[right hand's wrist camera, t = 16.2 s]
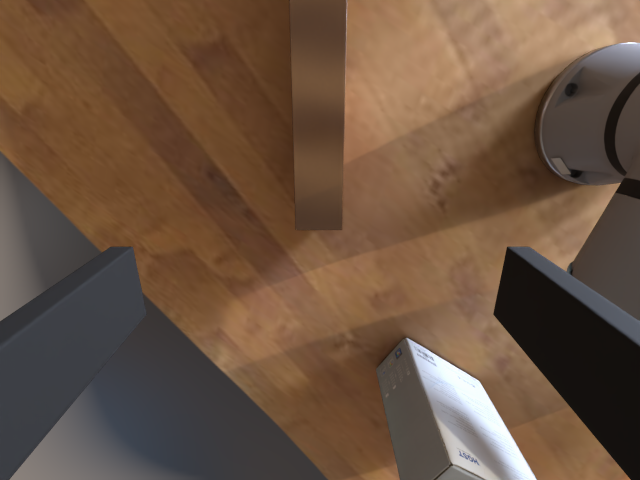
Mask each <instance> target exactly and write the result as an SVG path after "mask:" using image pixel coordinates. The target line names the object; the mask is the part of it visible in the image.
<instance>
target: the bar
mask: <svg viewBox="0 0 640 480" xmlns="http://www.w3.org/2000/svg"><path fill="white" fill-rule="evenodd" d="M289 12H290V47H291V83H292V118H293V154H294V189H295V225H296V230H342V213H343V168H344V123H345V77H346V32H347V0H289Z"/></svg>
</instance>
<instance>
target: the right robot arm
mask: <svg viewBox="0 0 640 480" xmlns="http://www.w3.org/2000/svg"><path fill="white" fill-rule="evenodd" d="M534 134H535V144H536V148H537V151H538V154H539V156H540V158H541V160H542V162H543V163H544V165H545V166H546V167H547V168H548V169H549V170H550V171H551V172H552V173H554V174H555V175H557V176H558V177H560V178H562V179H565V180H568V181H571V182H574V183H578V184H584V185H606V184H614V183H621V184H620V186H619V187H618V189H617V191H616V193H615V194H614V195H613V197H612V199H611V200H610V202H609V204H608V205H607V207H606V209H605V211H604V212H603V214H602V215H601V217H600V219H599V220H598V222H597V224H596V225H595V227H594V229H593V230H592V232H591V233H590V235H589V237H588V238H587V240H586V242H585V243H584V245H583V247H582V248H581V250H580V251H579V253H578V255H577V256H576V258H575V260H574V261H573V262H572V263H570V264H569V266H568V268H567V272H566V271H564V270H563V269H561V268H560V267H558V266H557V265H555V264H554V263H552V262H551V261H549V260H548V259H546V258H545V257H543V256H542V255H540V254H539V253H537V252H536V251H535V250H533V249H532V248H530V247H507V250H506V255H505V260H504V265H503V270H502V275H501V280H500V284H499V289H498V294H497V299H496V304H495V309H494V314H493V315H494V316H495V317H496V318H497V319H498V321H499V322H500V323H501V324H502V325H503V327H504V328H505V329H506V330H507V331H508V333H509V334H510V335H511V336H512V337H513V339H514V340H515V341H516V342H517V343H518V345H519V346H520V347H521V348H522V349H523V351H524V352H525V353H526V354H527V355H528V357H529V358H530V359H531V360H532V361H533V363H534V364H535V365H536V366H537V367H538V369H539V370H540V371H541V372H542V373H543V375H544V376H545V377H546V378H547V379H548V381H549V382H550V383H551V384H552V385H553V387H554V388H555V389H556V390H557V391H558V393H559V394H560V395H561V396H562V397H563V399H564V400H565V401H566V402H567V404H568V405H569V406H570V407H571V408H572V410H573V411H574V412H575V413H576V414H577V416H578V417H579V418H580V419H581V420H582V422H583V423H584V424H585V425H586V426H587V428H588V429H589V430H590V431H591V432H592V434H593V435H594V436H595V437H596V438H597V440H598V441H599V442H600V443H601V444H602V446H603V447H604V448H605V449H606V450H607V452H608V453H609V454H610V455H611V456H612V458H613V459H614V460H615V461H616V462H617V464H618V465H619V466H620V467H621V468H622V470H623V471H624V472H625V473H626V474H627V476H628V477H629V478H630V479H631V480H640V43H621V44H615V45H611V46H606V47H602V48H599V49H596V50H593V51H591V52H589V53H587V54H585V55H583V56H581V57H580V58H578V59H577V60H575V61H574V62H572V63H571V64H570V65H569V66H568V67H566V68H565V69H564V70H563V71H562V72H561V73H560V74H559V75H558V76H557V78H556V79H555V80H554V81H553V83H552V84H551V85H550V87H549V88H548V90H547V92H546V93H545V95H544V97H543V99H542V101H541V104H540V106H539V109H538V112H537V116H536V121H535V132H534ZM626 195H627V196H626ZM629 196H630V197H629ZM145 316H146V309H145V304H144V299H143V294H142V289H141V284H140V280H139V275H138V270H137V265H136V260H135V255H134V250H133V247H110V248H108V249H107V250H105V251H104V252H103V253H101V254H100V255H98V256H97V257H95V258H94V259H92V260H91V261H89V262H88V263H86V264H85V265H83V266H82V267H80V268H79V269H77V270H76V271H74V272H73V273H71V274H70V275H68V276H67V277H65V278H64V279H62V280H61V281H60V282H58V283H57V284H55V285H54V286H52V287H51V288H49V289H48V290H46V291H45V292H43V293H42V294H40V295H39V296H37V297H36V298H34V299H33V300H31V301H30V302H28V303H27V304H25V305H24V306H22V307H21V308H19V309H18V310H16V311H15V312H14V313H12V314H11V315H9V316H8V317H6V318H5V319H3V320H2V321H0V480H9V479H10V478H11V477H12V476H13V474H14V473H15V472H16V471H17V470H18V468H19V467H20V466H21V465H22V464H23V462H24V461H25V460H26V459H27V458H28V456H29V455H30V454H31V453H32V452H33V450H34V449H35V448H36V447H37V446H38V444H39V443H40V442H41V441H42V440H43V438H44V437H45V436H46V435H47V434H48V432H49V431H50V430H51V429H52V428H53V426H54V425H55V424H56V423H57V422H58V420H59V419H60V418H61V417H62V415H63V414H64V413H65V412H66V411H67V409H68V408H69V407H70V406H71V405H72V403H73V402H74V401H75V400H76V399H77V397H78V396H79V395H80V394H81V393H82V391H83V390H84V389H85V388H86V387H87V385H88V384H89V383H90V382H91V381H92V379H93V378H94V377H95V376H96V375H97V373H98V372H99V371H100V370H101V369H102V367H103V366H104V365H105V364H106V363H107V361H108V360H109V359H110V358H111V357H112V355H113V354H114V353H115V352H116V351H117V349H118V348H119V347H120V346H121V345H122V343H123V342H124V341H125V340H126V339H127V337H128V336H129V335H130V334H131V333H132V331H133V330H134V329H135V328H136V327H137V325H138V324H139V323H140V322H141V321H142V319H143V318H144V317H145Z"/></svg>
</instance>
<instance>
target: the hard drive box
mask: <svg viewBox="0 0 640 480" xmlns="http://www.w3.org/2000/svg"><path fill="white" fill-rule="evenodd" d="M376 372H377V377H378V381H379V386H380V391H381V395H382V400H383V404H384V409H385V413H386V418H387V422H388V427H389V432H390V436H391V441H392V445H393V450H394V454H395V459H396V463H397V468H398V472H399V477H400V480H537V479H536V477H535V476H534V474H533V472H532V470H531V469H530V467H529V465H528V464H527V462H526V460H525V458H524V457H523V455H522V453H521V452H520V450H519V448H518V446H517V445H516V443H515V441H514V439H513V438H512V436H511V434H510V433H509V431H508V429H507V427H506V426H505V424H504V422H503V421H502V419H501V417H500V415H499V414H498V412H497V410H496V409H495V407H494V405H493V403H492V402H491V400H490V398H489V397H488V395H487V393H486V391H485V390H484V388H483V386H482V385H481V383H480V381H478V380H476V379H475V378H473V377H471V376H470V375H468V374H467V373H465V372H463V371H462V370H460V369H458V368H456V367H455V366H453V365H452V364H450V363H448V362H447V361H445V360H443V359H442V358H440V357H438V356H437V355H435V354H433V353H432V352H430V351H429V350H427V349H425V348H424V347H422V346H420V345H418V344H417V343H415V342H413V341H412V340H410V339H408V338H405V339H403V340H402V341H401V342H400V343H399V344H398V345H397V346H396V347H395V348H394V350H393V351H392V352H391V353H390V354H389V355H388V356H387V357H386V359H385V360H384V361H383V362H382V363H381V364H380V365H379V366H378V367H377V369H376Z"/></svg>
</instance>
